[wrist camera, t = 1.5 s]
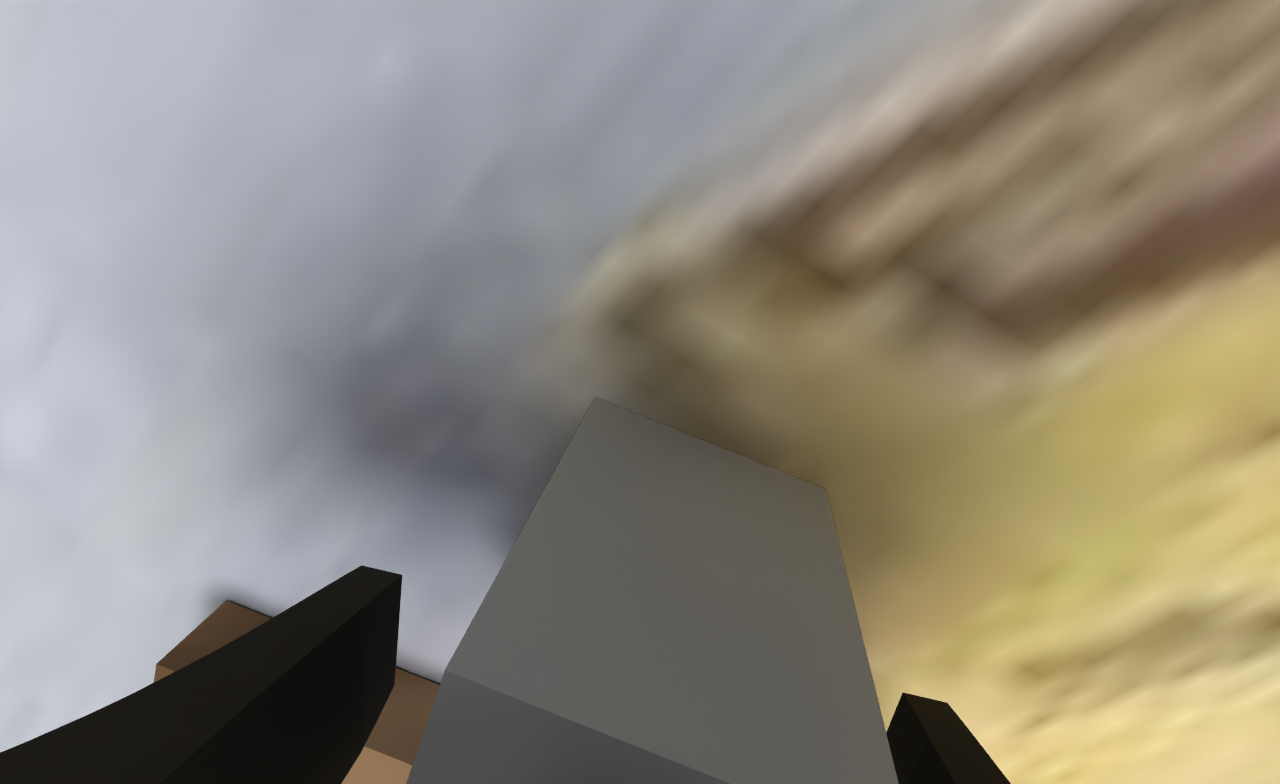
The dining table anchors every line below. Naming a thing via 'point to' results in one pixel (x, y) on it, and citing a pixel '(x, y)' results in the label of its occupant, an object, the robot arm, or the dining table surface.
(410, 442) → the dining table surface
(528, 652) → the plug
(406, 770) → the socket board
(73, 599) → the dining table surface
